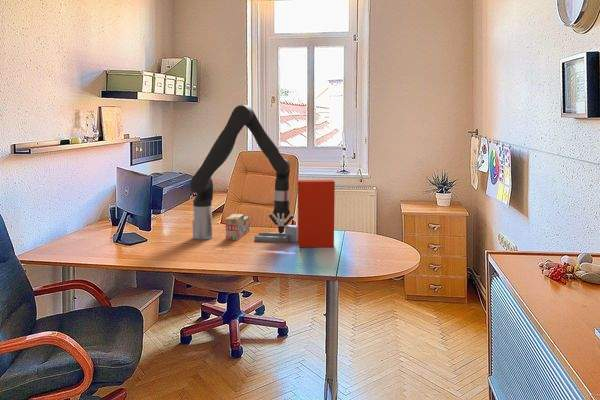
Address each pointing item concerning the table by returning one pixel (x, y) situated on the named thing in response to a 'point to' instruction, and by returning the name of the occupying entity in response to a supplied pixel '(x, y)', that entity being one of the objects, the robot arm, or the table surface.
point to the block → (292, 232)
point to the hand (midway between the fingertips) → (281, 233)
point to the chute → (272, 237)
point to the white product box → (236, 226)
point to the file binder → (316, 213)
